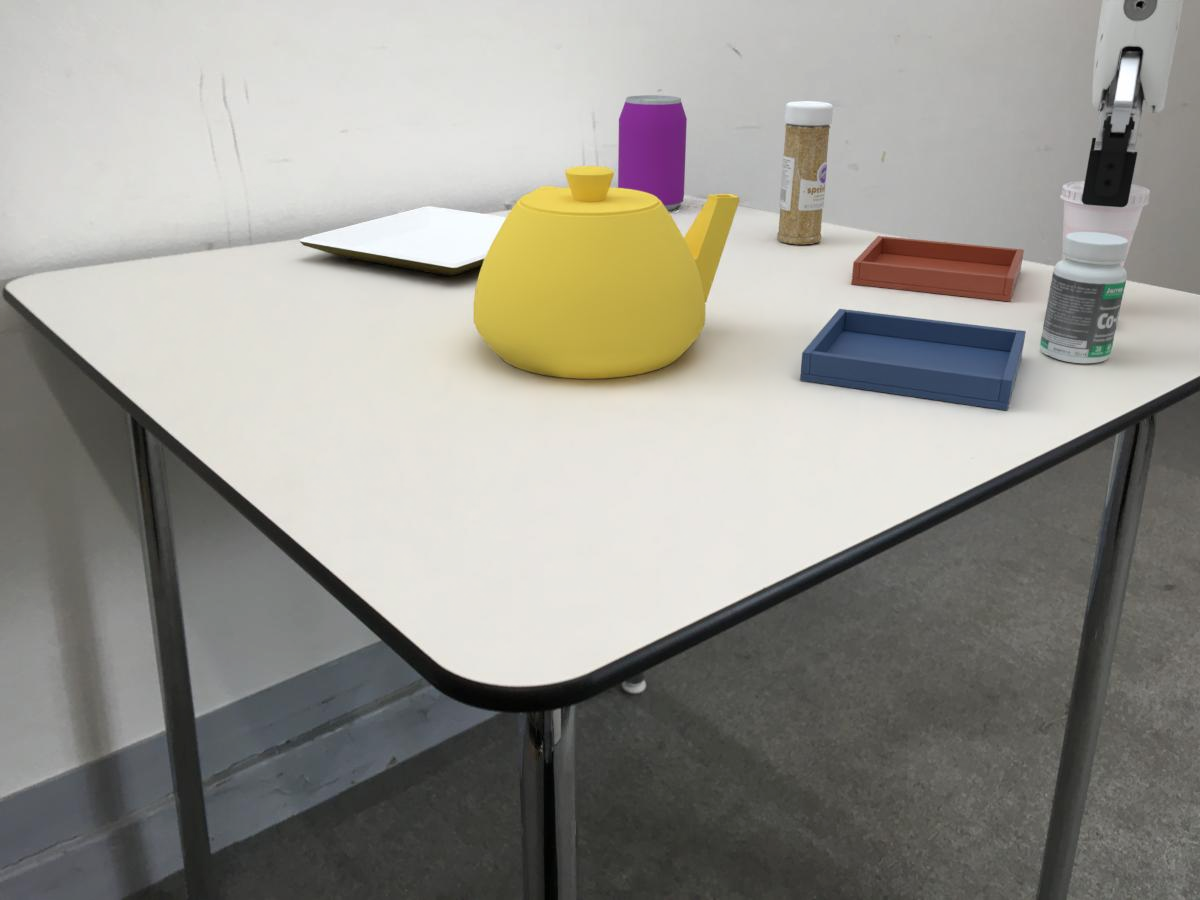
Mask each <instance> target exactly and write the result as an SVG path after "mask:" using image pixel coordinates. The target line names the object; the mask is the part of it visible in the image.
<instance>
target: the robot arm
mask: <svg viewBox="0 0 1200 900" xmlns="http://www.w3.org/2000/svg"><path fill="white" fill-rule="evenodd" d="M1183 5H1184V0H1102V1H1101V7H1100V14H1099V21H1098V25H1097V34H1096V41H1095V49H1094V57H1093V59H1094V61H1093V72H1092V85H1091V86H1092V87H1091V88H1092V89H1091V91H1092V92H1091V93H1092V94H1091V95H1092V96H1091V106H1092V107H1093V108H1094V109H1095V110H1096V111H1097V112H1099V113H1098V115H1099V118H1098V123H1097V130H1096V135H1095V137H1092V138H1091V143H1090V144H1091V146H1090V149H1089V156H1088V159H1087V167H1086V172H1085V179H1084V181H1085V183H1084V189H1083V195H1082V203H1083V204H1085V205H1095V206H1110V207H1125V206H1126V205H1127V204H1128V200H1129V195H1130V189H1131V184H1132V183H1133V179H1134V178H1133V177H1134V173H1135V168H1136V162H1137V156H1138V151H1135V150H1136V144H1137V140H1138V139H1137V138H1138V135H1139V128H1140V122H1141V117H1142V114H1143V105H1144V101H1145V105H1146V106H1150V107H1151V112H1152V114H1158V113H1160V112H1161V111H1163V110H1164V109H1165V105H1166V104H1165V103H1166V97H1167V92H1168V88H1169V87H1168V86H1169V81H1170V74H1171V69H1172V65H1173V60H1174V54H1175V49H1176V44H1177V39H1178V33H1179V27H1180V23H1181V17H1182V12H1183V11H1182V10H1183Z"/></svg>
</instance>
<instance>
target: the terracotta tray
mask: <svg viewBox="0 0 1200 900" xmlns="http://www.w3.org/2000/svg"><path fill="white" fill-rule="evenodd" d="M1024 252H1025V249H1022V248H1011V247H999V246H991V245H990V246H989V245H980V244H967V243H959V242H958V243H957V242H947V241H936V240H925V239H915V238H905V237H893V236H883V235H876V237H875V238H874V240H873V241H871V242H870V244H869V245H868V246H867V247H866V248H865V249H864V250H863V252H862V253H860V254H859V255H858V257H857V258H856V259H855V260H854V261H853V264H852V275H851V282H850V283H851V285H855V286H863V287H864V286H865V287H873V288H882V289H883V288H885V289H892V290H902V291H910V292H920V293H926V294H927V293H929V294H937V295H945V296H947V295H948V296H954V297H955V296H956V297H965V298H974V299H983V300H989V301H990V300H991V301H999V302H1000V301H1001V302H1011V300H1012V296H1013V294H1014V291H1015V288H1016V286H1017V282H1018V279H1019V276H1020V273H1021V270H1022V264H1023V259H1024Z"/></svg>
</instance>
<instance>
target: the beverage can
mask: <svg viewBox="0 0 1200 900" xmlns="http://www.w3.org/2000/svg"><path fill="white" fill-rule="evenodd" d="M687 121H688V119H687V115H686V112H685V109H684V106H683V102H682V98H681V97H680V96H674V95H660V94H659V95H657V94H645V95H644V94H643V95H642V94H641V95H629V96H626V97H625V101H624V104H623V107H622V109H621V112H620V115H619V118H618V150H617V151H618V153H617V154H618V158H617V161H618V163H617V164H618V165H617V169H618V170H617V188H624V189H632V190H638V191H642V192H646V193H649V194H652V195H654V196H656V197H657V198H658V199H659V200H660V201H661V202H662V203H663V205H664V206H665V208H666V209H667V210H668V211H673V210H676V209H677V208H678V207H679V206H680V205H681V204H682V203H683V202H684V198H685V177H686V154H687V153H686V149H687V123H688V122H687Z"/></svg>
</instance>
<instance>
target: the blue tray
mask: <svg viewBox="0 0 1200 900" xmlns="http://www.w3.org/2000/svg"><path fill="white" fill-rule="evenodd" d="M1026 333H1027V332H1026V330H1021V329H1013V328H1004V327H994V326H987V325H978V324H971V323H969V324H968V323H963V322H953V321H946V320H937V319H929V318H928V319H927V318H922V317H920V318H919V317H912V316H903V315H896V314H888V313H878V312H871V311H863V310H862V311H861V310H853V309H845V308H838V309H837V311H836V312H835V313H834V314H833V315H832V317H830V319H829V320H828V321H827V323H826V324H825V325H824V326H823V327H822V328H821V330H820V331H819V332H818V333H817V334H816V335H815V336H814V338H813V339H812V341H811V342H810V343H808V345H807V346H806V347H805V349H804V350H803V351H802V353H801V364H800V374H799V380H800V381H802V382H803V381H804V382H808V383H809V382H810V383H816V384H825V385H830V386H836V387H844V388H851V389H857V390H858V389H859V390H863V391H871V392H877V393H878V392H879V393H886V394H891V395H898V396H905V397H906V396H907V397H913V398H918V399H919V398H920V399H927V400H932V401H933V400H934V401H941V402H945V403H946V402H947V403H954V404H959V405H960V404H961V405H967V406H968V405H969V406H974V407H979V408H980V407H981V408H987V409H994V410H1002V411H1008V410H1009V405H1010V402H1011V399H1012V395H1013V391H1014V387H1015V383H1016V379H1017V376H1018V372H1019V368H1020V364H1021V361H1022V356H1023V351H1024V344H1025V339H1026Z"/></svg>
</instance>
